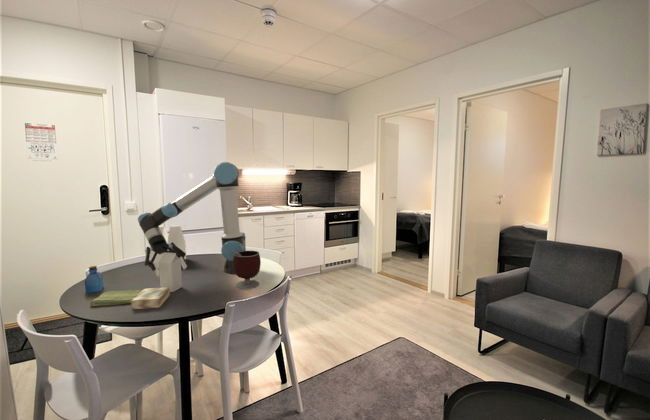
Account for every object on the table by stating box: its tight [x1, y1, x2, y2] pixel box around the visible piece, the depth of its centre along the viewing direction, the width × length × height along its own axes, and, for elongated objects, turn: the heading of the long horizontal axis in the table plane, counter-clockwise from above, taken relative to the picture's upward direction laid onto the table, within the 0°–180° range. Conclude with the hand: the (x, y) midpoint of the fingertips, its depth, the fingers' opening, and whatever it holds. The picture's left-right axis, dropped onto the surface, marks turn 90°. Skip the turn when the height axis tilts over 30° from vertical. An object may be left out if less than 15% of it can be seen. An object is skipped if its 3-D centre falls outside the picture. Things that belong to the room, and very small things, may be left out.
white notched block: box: [149, 225, 187, 269], centre depth 200 cm, size 19×15×25 cm
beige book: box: [131, 287, 171, 310], centre depth 139 cm, size 11×14×4 cm
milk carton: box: [158, 253, 183, 293], centre depth 154 cm, size 7×7×19 cm
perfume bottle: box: [84, 265, 104, 294], centre depth 153 cm, size 6×6×12 cm
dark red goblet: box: [231, 250, 262, 290], centre depth 159 cm, size 16×14×20 cm
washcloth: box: [89, 289, 142, 307], centre depth 142 cm, size 13×18×3 cm
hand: (172, 271), depth 153 cm, fingers open, 13 cm apart
